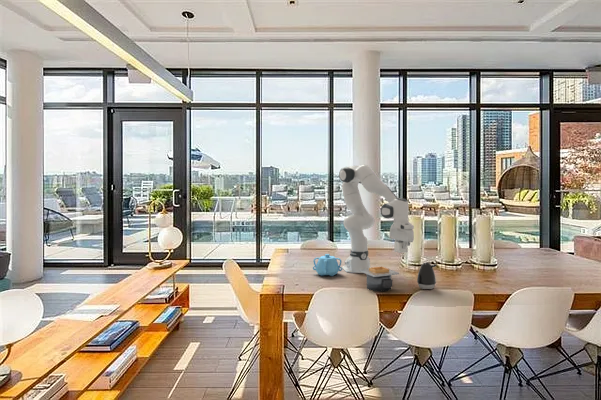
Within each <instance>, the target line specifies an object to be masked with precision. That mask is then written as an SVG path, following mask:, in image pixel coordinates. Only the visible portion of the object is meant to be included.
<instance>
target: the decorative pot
mask: <svg viewBox="0 0 601 400" xmlns="http://www.w3.org/2000/svg"><path fill="white" fill-rule="evenodd" d="M316 260H317V262H316ZM338 261H339V262H338ZM312 263H313V265H314V266H312V269H313V271H316V273H317V274H318V275H320V276H321V277H323V276H329V277H334V276H335V275H336V274H338V273H339V272H341V271H343V269H342V266H341V265H342V259H341V258H339V257H335V255H330V253H325V254H324V255H321V256H320V257H319V256H317V257H314V259H313V260H312Z"/></svg>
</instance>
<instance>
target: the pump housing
mask: <svg viewBox="0 0 601 400" xmlns="http://www.w3.org/2000/svg"><path fill="white" fill-rule="evenodd" d="M393 243H394V250H393V251H394V252H395V253H399V254H401V253H402V254H403V253H408V252H409V251H408V250H409V249H408V247H409V246H411V242H407V245H406V249H403V248H402V246H403V244H404V243H403V241H400V240H399V241H398V242H395V241H394V242H393Z"/></svg>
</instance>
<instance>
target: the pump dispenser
mask: <svg viewBox="0 0 601 400" xmlns="http://www.w3.org/2000/svg"><path fill="white" fill-rule="evenodd" d="M435 267H437V264H436V263H435V264H431V263H429V262H427V261H426V262H423V263H422V264H421V265H420V268H419V270H418V273H417V279H416V280H417V281H416V282H417V286H418V287H419V289H421V290H423V289H431V290H433V289H434V288H435V286H436V283H437V280H436V274H435V270H434V268H435Z"/></svg>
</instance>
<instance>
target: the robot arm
mask: <svg viewBox="0 0 601 400" xmlns="http://www.w3.org/2000/svg"><path fill="white" fill-rule="evenodd" d="M338 174H339V175H338V177H339V181H341V182H342V183H341V184H342V185H341V186H342V188H341V189H342V194H343V199H344V202H345V205H346V208H347V209H348V210H349V211H350V212H351V213H352V214H350V215H347V216H346V217H345V218H344V220H343V227H344V228H345V229H346V231H347V232H348V235H349V236H350V247H351V249H350V250H349V256H348V257H347V258H346V259H345V261H344V265H342V266H341V267H342V270H344V272H346V273H354V274H364V273H363V272H360V270H361V269H369V268H371V260H370V258H369V250H368V246H369V245H368V242H369V241H368V240H369V239H368V238H367V237H366V236H365V235H364V230H369V229H370V228H372V227H373V226H374V225H375V217H374V216H373V215H372V214H371V213H369V211H368V210H367V209H366V206H365V204H364V203H363V200H362V196H361V193H360V190H359V184H361V185H362V186H363V188H364V189H365V190H366V191H367V192H369V193H371V194H376V195H379V196H382V197H383V198H384V199H385V200H386V201H387V202H386V203H384V204H382V205H381V207H380V215H381V216H382V218H384V219H386V220H387V219H389V220H390V219H393V223H392V224H391V225H390V228H389V239H392V240H394V242H398V241H403V243H404V244H403V246H402V248H403V249H406V245H407V242H410V243H413V242H414V239H415V238H414V237H415V232H414V229H415V226H414V224H412V223H410V222H409V221H410V220H409V212H410V211H409V207H410V206H409V201H408V200H407V199H406V198H404V197H397V195H395V193H394V192H393V191H392V190H391V188H390V187H389V186H388V185H387V184H385V183H384V182H383V181H382V179H380V178H379V176H378V175H377V174H376V172H375V171H374V170H373V168H372V167H371V166H370V165H367V164H363V165H362V164H360V165H351V166H345V167H342V168H341V169H340V170H339V173H338Z"/></svg>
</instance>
